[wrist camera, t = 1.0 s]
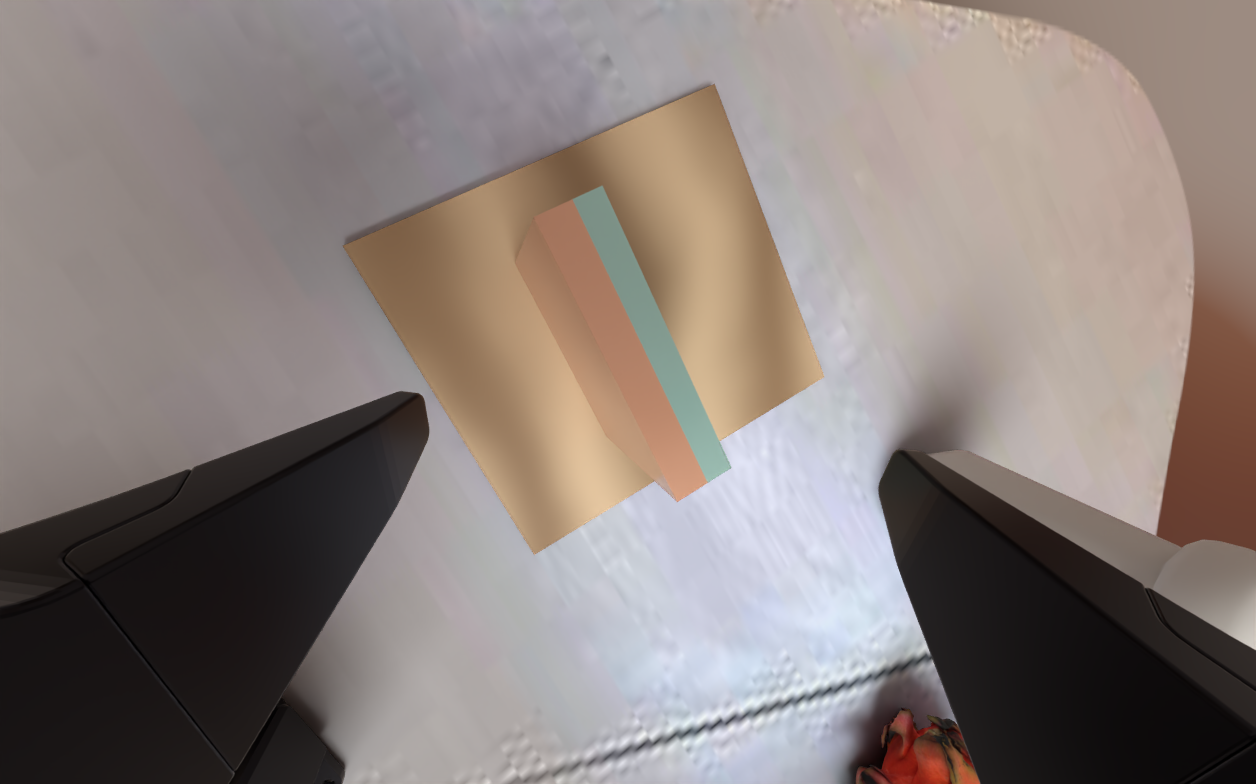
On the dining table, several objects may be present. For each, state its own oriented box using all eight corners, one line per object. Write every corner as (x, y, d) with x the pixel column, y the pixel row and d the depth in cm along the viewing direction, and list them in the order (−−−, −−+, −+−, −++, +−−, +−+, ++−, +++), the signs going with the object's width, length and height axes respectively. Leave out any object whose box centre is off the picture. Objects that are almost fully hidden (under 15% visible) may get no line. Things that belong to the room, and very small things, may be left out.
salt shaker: (955, 434, 27) (1362, 528, 14) (950, 529, 27) (1330, 694, 15) (871, 448, 25) (1247, 567, 13) (869, 548, 26) (1219, 751, 13)
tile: (606, 436, 20) (676, 502, 13) (514, 263, 18) (533, 216, 11) (641, 415, 20) (731, 467, 13) (555, 243, 18) (602, 185, 11)
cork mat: (533, 550, 20) (534, 554, 20) (345, 247, 17) (342, 245, 16) (819, 376, 23) (824, 376, 23) (710, 88, 20) (714, 83, 19)
